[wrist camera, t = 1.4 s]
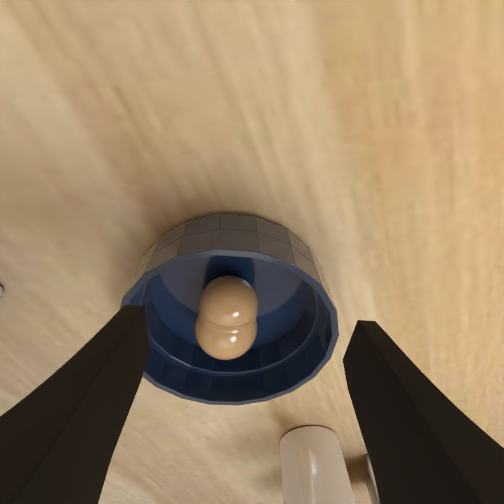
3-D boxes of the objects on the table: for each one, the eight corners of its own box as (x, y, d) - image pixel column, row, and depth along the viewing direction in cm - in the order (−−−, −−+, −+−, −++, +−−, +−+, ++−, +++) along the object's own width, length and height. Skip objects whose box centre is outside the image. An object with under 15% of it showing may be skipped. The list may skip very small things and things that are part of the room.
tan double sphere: (255, 330, 23) (251, 378, 20) (200, 323, 23) (187, 369, 20) (266, 268, 20) (264, 311, 17) (203, 259, 20) (188, 301, 17)
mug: (343, 450, 35) (386, 614, 24) (285, 460, 35) (302, 622, 25) (329, 400, 29) (376, 581, 19) (261, 413, 30) (271, 593, 20)
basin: (240, 373, 27) (240, 425, 23) (105, 300, 22) (76, 350, 18) (358, 285, 22) (382, 332, 18) (216, 166, 17) (209, 198, 13)
